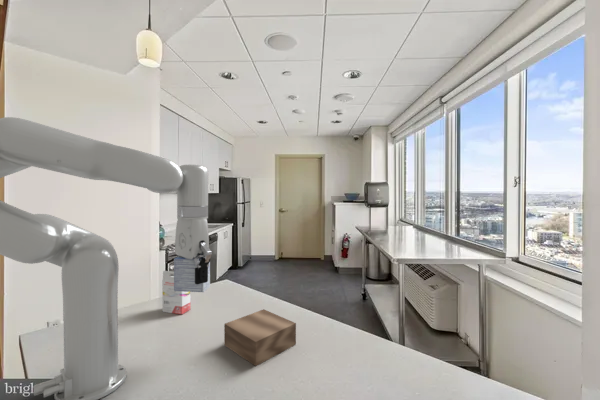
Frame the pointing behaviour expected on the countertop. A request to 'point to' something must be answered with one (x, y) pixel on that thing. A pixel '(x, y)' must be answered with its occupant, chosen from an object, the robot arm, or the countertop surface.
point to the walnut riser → (259, 336)
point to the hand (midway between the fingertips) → (192, 279)
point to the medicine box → (187, 276)
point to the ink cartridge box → (174, 296)
